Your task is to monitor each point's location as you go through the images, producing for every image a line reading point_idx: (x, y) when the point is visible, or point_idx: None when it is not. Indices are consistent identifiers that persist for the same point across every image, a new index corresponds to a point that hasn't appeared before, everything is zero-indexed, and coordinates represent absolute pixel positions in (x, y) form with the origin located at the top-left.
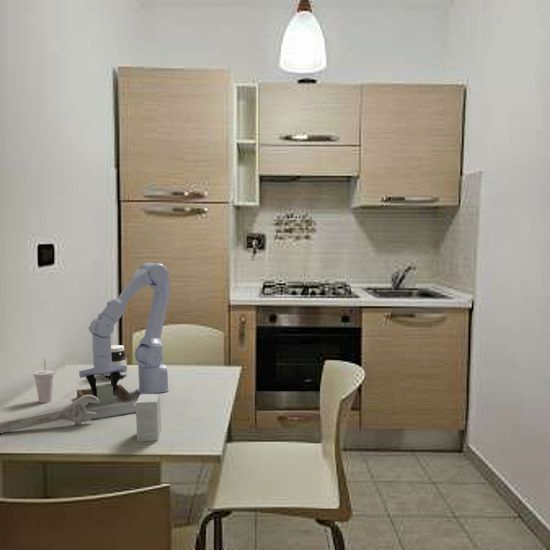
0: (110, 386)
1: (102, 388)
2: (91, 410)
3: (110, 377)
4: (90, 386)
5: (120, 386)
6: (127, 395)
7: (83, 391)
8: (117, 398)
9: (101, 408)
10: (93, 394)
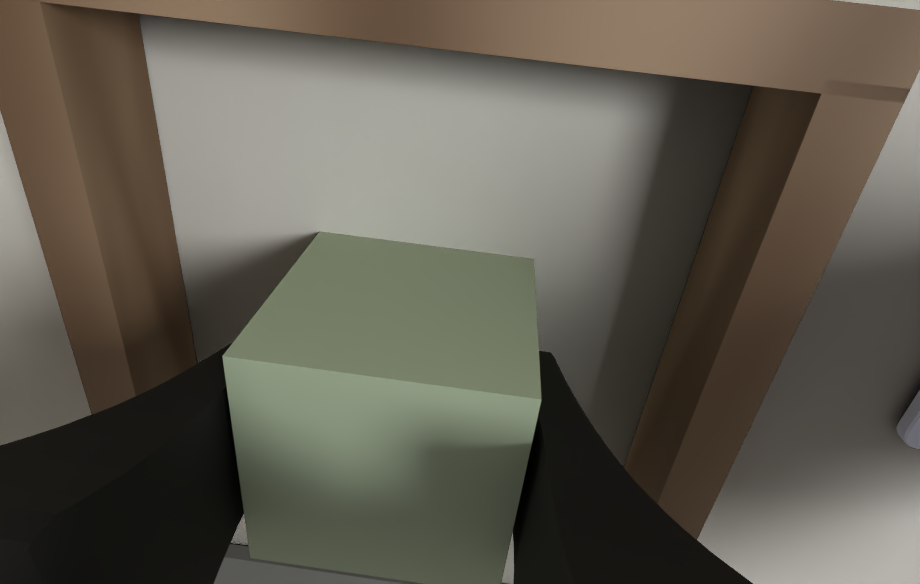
0: (465, 575)
1: (335, 562)
2: (229, 574)
3: (552, 541)
4: (150, 389)
5: (811, 209)
6: None
7: (104, 4)
8: (594, 348)
9: (317, 580)
10: None
